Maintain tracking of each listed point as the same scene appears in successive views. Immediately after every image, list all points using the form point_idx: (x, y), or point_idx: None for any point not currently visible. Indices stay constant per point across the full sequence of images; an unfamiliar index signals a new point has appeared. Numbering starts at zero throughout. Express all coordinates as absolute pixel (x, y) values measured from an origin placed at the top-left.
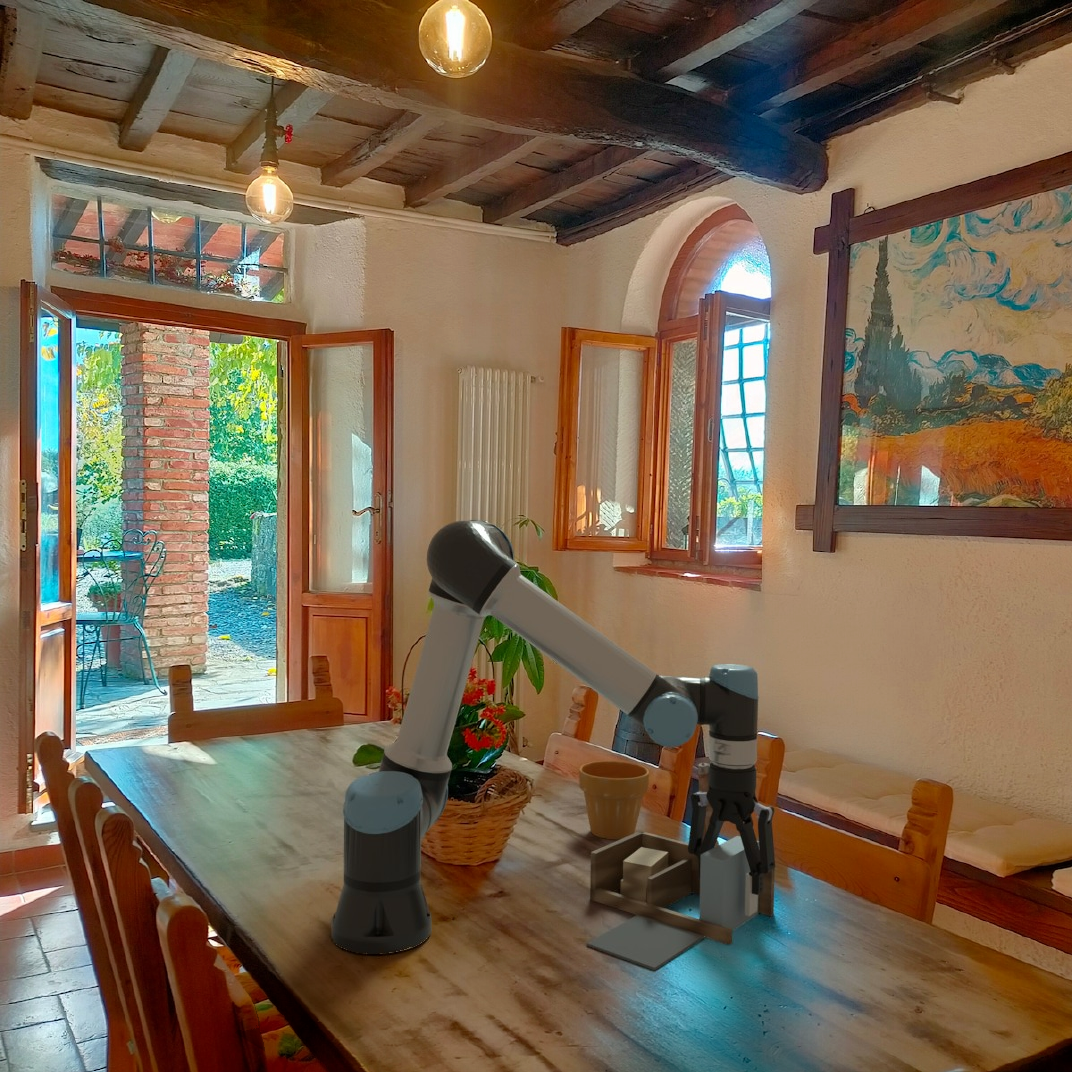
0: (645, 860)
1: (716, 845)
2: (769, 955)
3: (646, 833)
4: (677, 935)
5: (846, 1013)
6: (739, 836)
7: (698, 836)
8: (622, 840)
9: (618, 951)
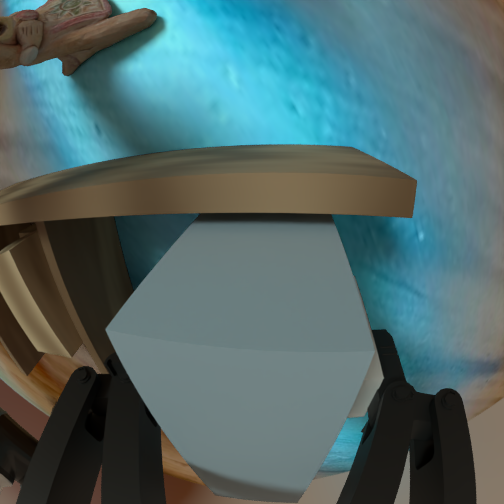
0: (40, 331)
1: (27, 30)
2: (402, 344)
3: None
4: None
5: (483, 383)
6: (126, 334)
7: (95, 450)
8: None
9: None
